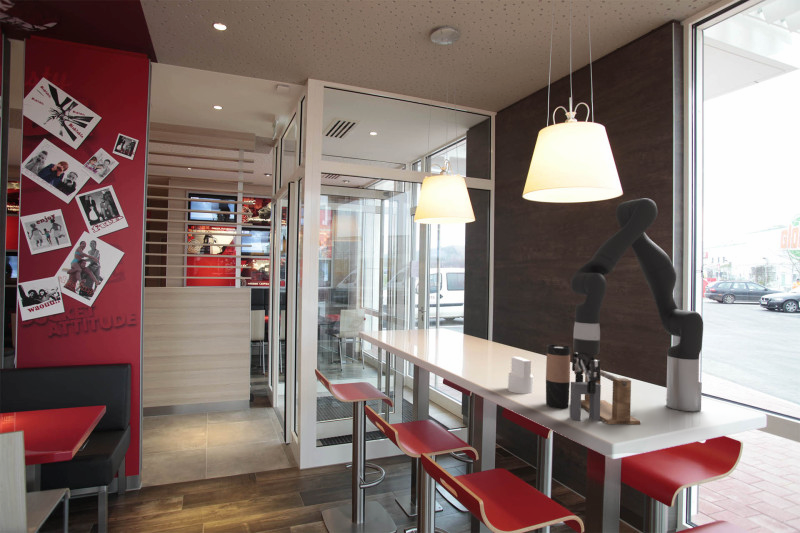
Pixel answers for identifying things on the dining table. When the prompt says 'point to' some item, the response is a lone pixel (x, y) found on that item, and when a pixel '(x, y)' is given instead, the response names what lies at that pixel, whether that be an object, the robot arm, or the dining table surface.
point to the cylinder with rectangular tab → (520, 376)
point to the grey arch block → (575, 401)
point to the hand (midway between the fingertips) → (584, 390)
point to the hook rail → (615, 402)
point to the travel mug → (557, 376)
